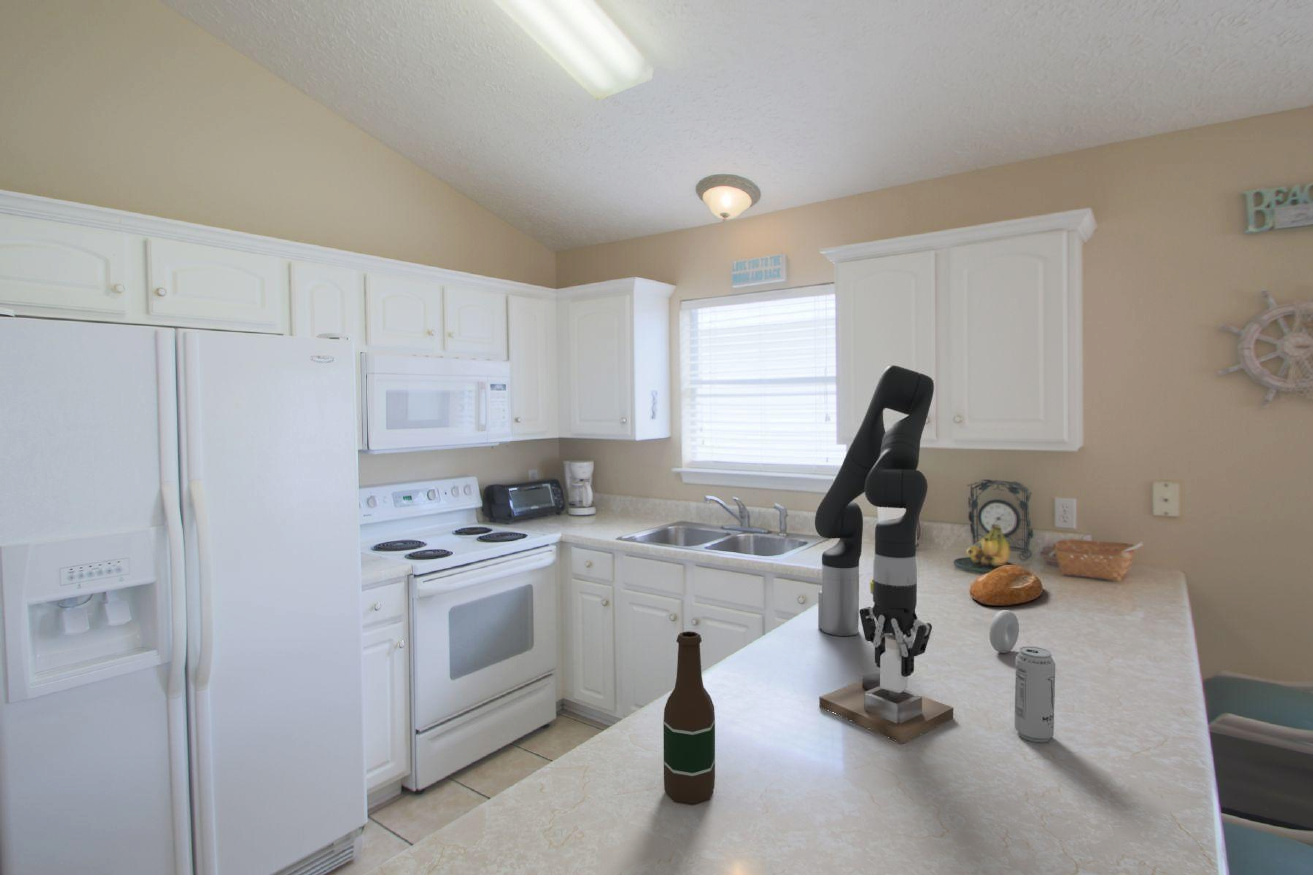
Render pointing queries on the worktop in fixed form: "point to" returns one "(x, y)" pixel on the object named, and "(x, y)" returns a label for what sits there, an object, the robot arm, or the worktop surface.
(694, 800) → the beer bottle
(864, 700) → the carrier board
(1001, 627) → the donut
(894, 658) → the salt shaker
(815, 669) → the worktop surface
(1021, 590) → the bread
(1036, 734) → the energy drink can
